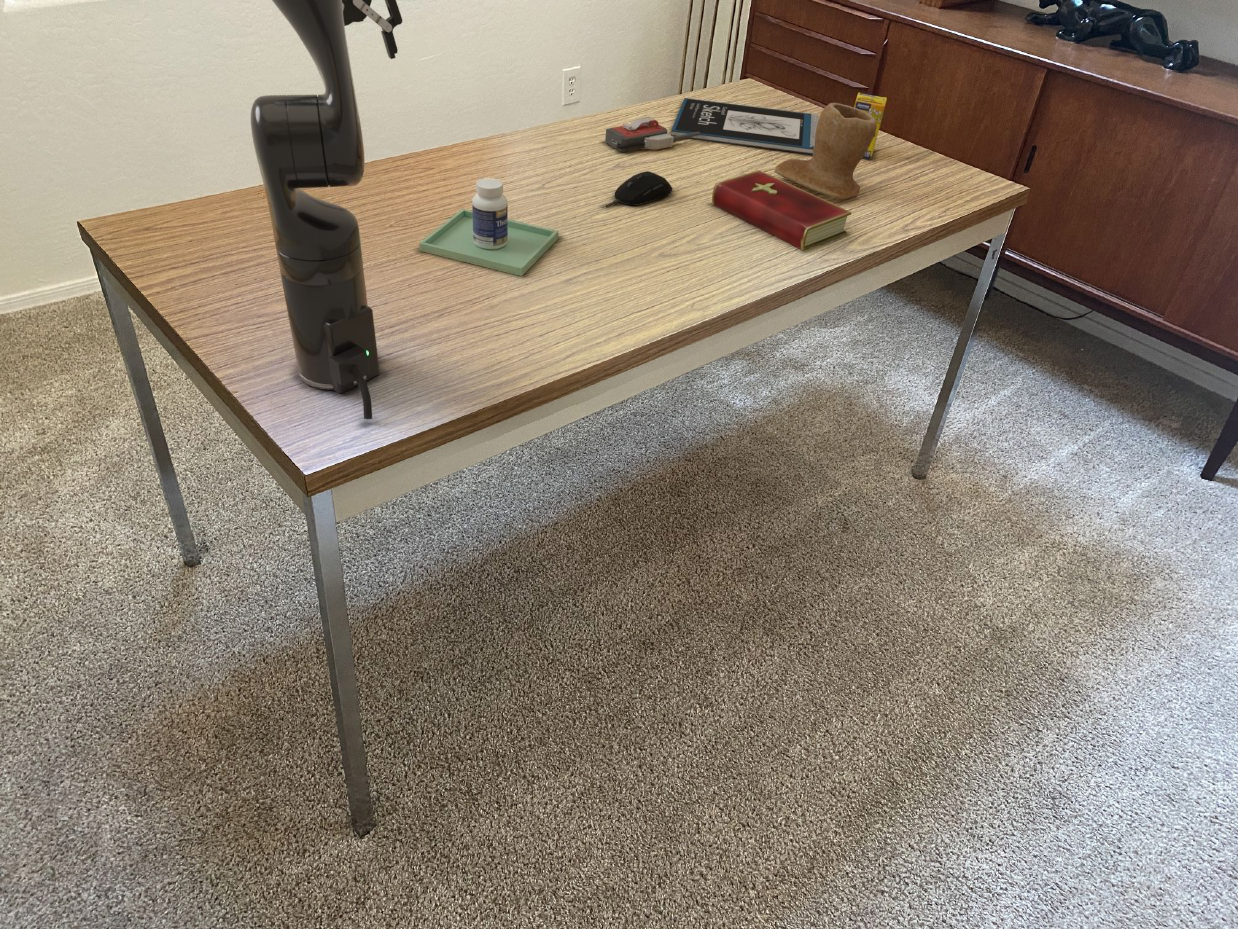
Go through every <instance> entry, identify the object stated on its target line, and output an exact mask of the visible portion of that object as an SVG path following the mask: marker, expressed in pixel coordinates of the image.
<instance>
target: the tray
mask: <svg viewBox="0 0 1238 929" xmlns="http://www.w3.org/2000/svg"><path fill="white" fill-rule="evenodd" d="M557 240H559V230H557V229H556V230H555V229H551V228H546V227H543V226H538V225H533V224H529V223H525V222H522V221H517V220H514V219H513V220H512V219H509V218H508V238H507V244H506V245H505V246H504V247H502V248H499V249H484V248H480V247H478V246H477V245H475V243H474V241H473V213H472V210H470V209H465V208H461V209H459V211H458V212H456V213H455V214H454V215H452V216H451V217H450V218H449V219H448V220H446V221H445V222H443V223H442V224H441V225H440V226H439V227H437V228H436V229H435V230H433V231H432V232H431V233H430V234H428V236H426V237H425V238H424V239H422V240H421V241H419V245H418V247H419V252H422V253H423V252H424V253H426V254H431V255H434V256H439V257H443V258H447V259H450V260H455V261H460V262H464V263H468V264H471V265H475V266H479V267H483V268H488V269H492V270H495V271H498V272H499V271H500V272H504V273H508V274H510V275H511V274H512V275H514V276H515V275H516V276H520V277H523V276H524V274H526V272H527V271H528V270H529V269H531V267H532V266H533V265H534V264H535V263H536V262H537V261H539V259H540V258H541V257H542V256H543V255H544V254H545V253H546V252H547V251H548V250H549V249H550V248H551V247H552V246H553V245H554V244H555V242H557Z"/></svg>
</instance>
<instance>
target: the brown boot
mask: <svg viewBox="0 0 1238 929" xmlns="http://www.w3.org/2000/svg"><path fill="white" fill-rule="evenodd" d="M876 128H877V123H876V120H875V118H874V117H873V116H872V115H870V114H868V113H867V112H864V111H862V110H859V109H857V108H854V106H850V105H847V104H842V103H839V102H829V103H828V104H827V105H826V106H824V108H822V111H821V113H820V115H819V120H818V124H817V128H816V134H815V139H814V140H815V146H814V152H813V153H814V154H813V155H812V157H811V159H808V160H806V159H800V158H791V159H787V160H784V161H782V162H780V163H779V164H777V165H776V166H775V168H774V170H773V172H774V173H775V174H776V175H779V176H781V177H782V178H785V179H786V180H789V181H791V182H793V183H795V184H797V185H799V186H802V187H803V188H807V189H809V190H811V191H814V192H816V193H817V194H821V195H823V196H826V197H829V198H832V199H836V200H846V199H850V198H853V197H856V196H857V195H858V194H859V193H860V192H861V186H860V185H859V183H858V182H856V181H855V179H854V172H855V170H856V168H857V166H858V165H859V164H860V162H861V160H863V158H862V157H863V156H864V155H865V153H866V151H867V150H868V148H869V146H870V144H871V142H872V140H873V137H874V135H875V132H876Z"/></svg>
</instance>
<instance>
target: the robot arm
mask: <svg viewBox="0 0 1238 929" xmlns="http://www.w3.org/2000/svg"><path fill="white" fill-rule="evenodd" d="M372 1H373V0H271V2H272V3H274V6H276V8H277V9H278V11H279V12H280V13H281V14H282V16H284V18H285V19H286V21H287V22H288V23H289V24H290V26H291V27H292V29H293V30H294V32H295V33H296V34H297V36H298V37H299V40H300V41H301V42H302V44H303V45H304V47H305V49H306V51H307V52H308V54H309V56H310V57H311V59H312V61H313V63H314V65H315V67H316V69H317V71H318V74H319V76H320V79H321V81H322V84H323V86H324V93H323V94H267V95H261V96H258V97H257V98H256V99H254V101H253V103H252V105H251V109H250V129H251V138H252V142H253V148H254V152H255V157H256V161H257V164H258V168H259V172H260V176H261V180H262V184H263V189H264V192H265V197H266V201H267V206H268V210H269V217H270V222H271V228H272V233H273V234H272V235H273V240H274V245H275V251H276V256H277V262H278V266H279V273H280V278H281V279H280V280H281V284H282V289H283V294H284V295H283V296H284V301H285V305H286V306H285V307H286V311H287V317H288V323H289V327H290V334H291V339H292V343H293V344H292V345H293V349H294V355H295V360H296V371H297V374H298V377H299V379H300V380H301V381H302V382H303V383H305V384H306V385H308V386H310V387H313V388H316V389H320V390H328V391H329V390H331V391H335V392H336V393H338V394H342V393H344V392H346V391H349V390H350V389H352V388H354V387H357V386H358V388H359V391H360V394H361V399H362V405H363V406H362V407H363V408H362V409H363V420H372V419H373V405H372V397H371V394H370V390H369V387H368V385H367V382H366V381H369V380H371V379H373V378H375V377H377V376H379V375H380V373H381V372H380V362H379V354H378V346H377V337H376V328H375V320H374V310H373V309H372V307H370V306H369V302H368V295H367V294H368V293H367V286H366V279H365V270H364V269H365V268H364V260H363V249H362V243H361V232H360V226H359V222H358V220H357V218H356V216H355V215H354V214H353V213H352V212H351V211H350V210H348V208H346V207H343V206H342V205H339V204H336V203H333V202H329V201H326V200H324V199H320V198H318V197H315V196H313V195H311V194H309V193H307V192H305V191H304V190H303V189H317V188H318V189H319V188H320V189H321V188H342V187H343V188H344V187H345V188H346V187H353V186H356V185H357V186H358V184H359V183H360V182H361V181H362V180H363V178H364V173H365V164H366V163H365V147H364V138H363V130H362V125H361V119H360V118H361V117H360V112H359V107H358V102H357V95H356V89H355V84H354V77H353V72H352V66H351V60H350V52H349V47H348V40H347V35H346V34H347V33H346V27H347V26H349V25H351V24H353V23H361V22H364V21H365V20H366V18H367V17H368V18H369V19H371V20H372V21H373V22H374V23H375V24H377V26H379V27H380V28H381V30H380V34H381V36H382V39H383V43H384V47H385V50H386V54H387V56H388V59H390V60H392V59H396V54H398V49H399V48H398V46H397V42H396V39H395V35H394V29H395V28H396V27H397V26H400V25H402V23H403V17H402V14H401V11H400V8H399V5H398V3H397V0H384V3H385V6H386V8H387V11H388V14H389V16H388V17H387V18H384V17H383V16H381V15H380V14H379V13H378V12H376V10H374V8H372V7H371V4H372Z"/></svg>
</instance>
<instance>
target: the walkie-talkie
mask: <svg viewBox="0 0 1238 929" xmlns="http://www.w3.org/2000/svg"><path fill="white" fill-rule="evenodd" d="M699 135H700V132H694V133H689V134H684V135H679V136H671V134H669V133H668V129H667V128H666V127H664V126H663V125H661V124H660V123H659V121H658V120H656V119H654V118H652V117H650V116H646V117H641V118H636V119H634V120H633V121H632V122H630V124H629V123H627V122H623V123H622V125H620V126H614V127H608V128H606V129H605V138H604V142H605V144H606V145H608V146H610V147H611V148H614V149H615V150H617V151H618V152H620V153H628V152H629V153H631V152H633V151H639V150H643V149H645V150H659V149H660V150H661V149H664V148H671V147H673V146H674V144H675V143H677V142H681V141H686V140H690V139H692V138H691V137H694V136H699Z"/></svg>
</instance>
